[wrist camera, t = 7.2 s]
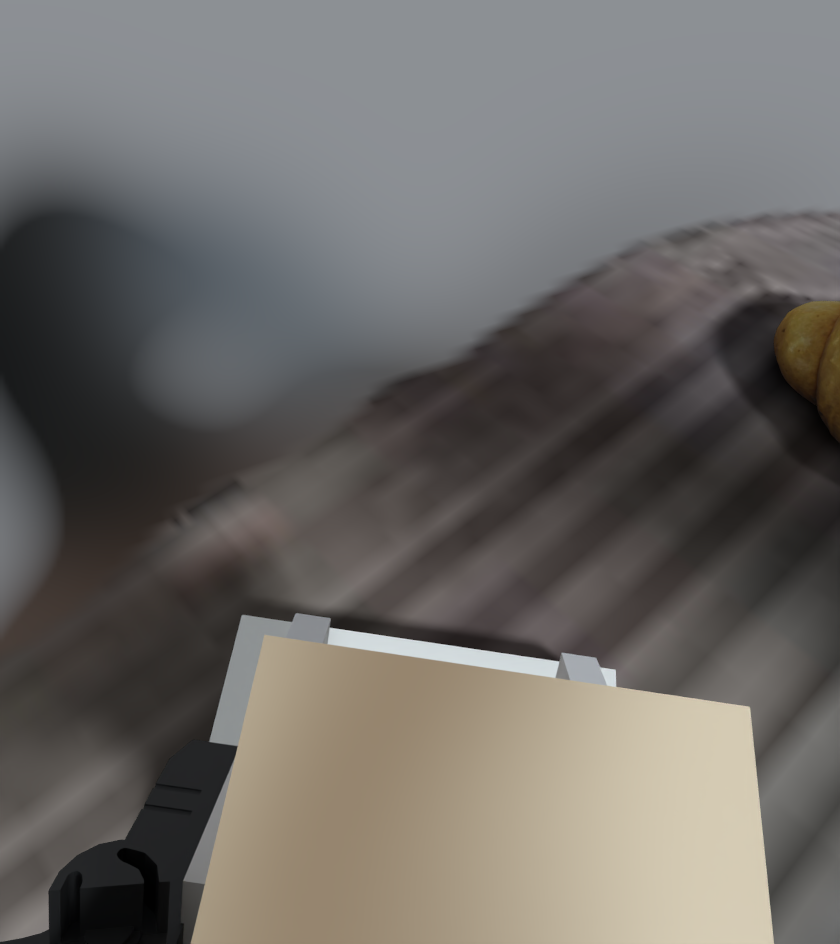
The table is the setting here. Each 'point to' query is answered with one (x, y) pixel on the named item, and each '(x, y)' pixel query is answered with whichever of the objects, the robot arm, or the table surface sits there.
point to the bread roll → (813, 357)
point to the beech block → (481, 810)
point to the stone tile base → (256, 627)
